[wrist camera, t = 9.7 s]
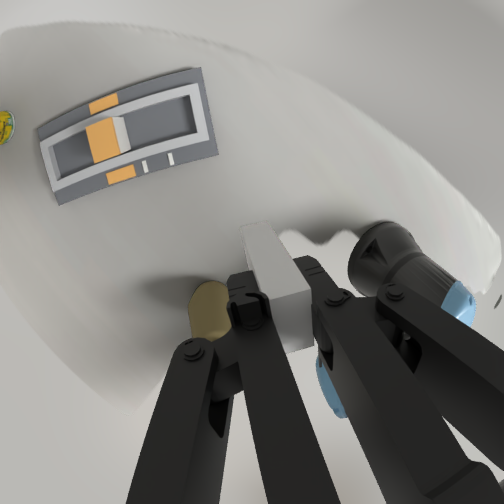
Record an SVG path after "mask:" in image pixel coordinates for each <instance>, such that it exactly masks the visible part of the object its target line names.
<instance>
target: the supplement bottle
mask: <svg viewBox="0 0 504 504" xmlns="http://www.w3.org/2000/svg"><path fill="white" fill-rule="evenodd" d="M14 128H15V120H14V116H13V114H12V113H11V112H9V111H1V112H0V145H1V144H4V143H6V142H8V141H9V140H10V138H11V137H12V135H13V132H14Z"/></svg>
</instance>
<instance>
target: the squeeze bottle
mask: <svg viewBox="0 0 504 504" xmlns="http://www.w3.org/2000/svg"><path fill="white" fill-rule="evenodd" d="M228 301H229V295H228V289H227V287H226V286H225V285H224V284H223V283H220V282H217V281H208V282H205V283H203V284H201V285H200V286H199V287H198V288H197V289H196V291H195V292H194V294H193V296H192V298H191V300H190V302H189V304H188V313H189V320H190V326H191V332H192V337H193V338H197V337H200V338H206V339H207V340H209V341H211V342H212V341H215V340H217V339H219V338H220V337H222V336H224V335H225V334H226V333H227V332H228V331H229V330H230V328H231V326H232V325H231V322H230V319H229V316H228V313H227V310H226V306H227V302H228Z"/></svg>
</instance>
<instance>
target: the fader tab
mask: <svg viewBox="0 0 504 504" xmlns="http://www.w3.org/2000/svg"><path fill="white" fill-rule="evenodd" d="M85 128H86V132H87V136H88V141H89V145H90V149H91V152H92V156H93V160H94V163H98V162H100V161H103V160H105V159H108V158H111V157H113V156H116V155H119V154H121V153H124V152H126V151H128V150H130V149H131V147H130V143H129V139H128V135H127V130H126V126H125V122H124V117H109V118H107V119H104V120H102V121H99V122H97V123H95V124H92V125H90V126H87V127H85Z"/></svg>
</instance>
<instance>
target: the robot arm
mask: <svg viewBox="0 0 504 504" xmlns="http://www.w3.org/2000/svg"><path fill="white" fill-rule="evenodd" d="M240 232H241V236H242V241H243V246H244V250H245V255H246V259H247V264H248V268H249V271H246V272H242V273H238V274H233V275H230V277H229V279H228V281H227V289H228V295H229V301H228V302H227V306H226V310H227V313H228V316H229V319H230V322H231V325H232V326H231V328H230V330H229V331H228V332H227V333H226V334H225V335H224V336H222V337H220V338H219V339H217V340H215V341H212V342H211V341H209V340H207V339H206V338H200V337H197V338H191V339H188V340H186V341H184V342H182V343H181V344H180V345H179V346H178V347H177V348H176V350H175V352H174V354H173V357H172V359H171V362H170V365H169V368H168V371H167V374H166V376H165V379H164V382H163V385H162V388H161V391H160V394H159V397H158V400H157V403H156V406H155V409H154V412H153V415H152V418H151V421H150V424H149V427H148V430H147V433H146V437H145V439H144V443H143V446H142V449H141V452H140V456H139V459H138V463H137V466H136V469H135V473H134V476H133V479H132V483H131V486H130V490H129V493H128V497H127V501H126V504H219V501H220V493H221V486H222V479H223V472H224V465H225V457H226V451H227V443H228V436H229V429H230V422H231V415H232V407H233V399H234V395H235V394H237V393H239V392H241V391H243V390H244V395H245V400H246V406H247V410H248V416H249V420H250V425H251V430H252V435H253V440H254V444H255V449H256V454H257V458H258V462H259V467H260V471H261V476H262V480H263V484H264V489H265V493H266V497H267V501H268V504H341V503H340V500H339V498H338V495H337V492H336V489H335V487H334V484H333V481H332V479H331V476H330V473H329V471H328V468H327V465H326V463H325V460H324V457H323V454H322V452H321V449H320V447H319V444H318V441H317V438H316V436H315V433H314V430H313V428H312V425H311V422H310V419H309V417H308V414H307V411H306V408H305V406H304V403H303V400H302V398H301V395H300V392H299V389H298V387H297V384H296V381H295V378H294V376H293V373H292V370H291V367H290V365H289V362H288V360H287V357H286V354H287V353H291V352H295V351H298V350H301V349H305V348H308V347H311V346H314V337H315V339H316V341H317V343H318V357H317V359H316V372H317V376H318V380H319V383H320V386H321V389H322V391H323V394H324V396H325V398H326V400H327V402H328V404H329V406H330V407H331V408H332V409H333V411H334V413H335V415H336V416H338V417H339V418H347V417H348V418H349V420H350V423H351V425H352V427H353V429H354V431H355V434H356V436H357V438H358V440H359V442H360V445H361V447H362V449H363V451H364V453H365V456H366V458H367V460H368V462H369V465H370V467H371V469H372V471H373V474H374V476H375V478H376V480H377V483H378V485H379V487H380V489H381V492H382V494H383V496H384V499H385V501H386V503H387V504H504V480H502V481H501V482H499V483H498V482H497V480H496V478H495V476H494V474H493V473H492V471H491V470H490V468H489V467H488V466H487V465H485V464H483V463H481V462H475V461H471V460H470V459H468V457H467V456H466V455H465V453H464V451H463V450H462V448H461V446H460V445H459V443H458V441H457V440H456V438H455V436H454V435H453V433H452V432H451V430H450V429H449V427H448V425H447V424H446V422H445V421H444V419H443V417H444V418H445V419H446V420H447V421H448V422H449V423H450V424H451V425H452V426H453V427H455V428H456V429H457V430H458V431H459V432H460V433H461V434H462V435H463V436H464V437H465V438H467V439H468V440H469V441H470V442H471V443H472V444H473V445H474V446H475V447H476V448H477V449H479V450H480V451H481V452H482V453H483V454H484V455H485V456H486V457H487V458H488V459H489V460H490V461H492V462H493V463H494V464H495V465H496V466H498V467H499V468H500V469H501V470H503V471H504V351H503V350H502V349H500V348H499V347H497V346H496V345H495V344H493V343H492V342H490V341H489V340H487V339H486V338H485V337H483V336H482V335H480V334H479V333H478V332H476V331H475V330H473V329H471V328H470V327H471V324H472V322H473V319H474V316H475V311H476V303H475V299H474V297H473V295H472V294H471V293H470V292H469V291H468V290H467V289H466V288H465V287H464V286H463V284H462V283H461V282H460V281H458V280H457V279H455V278H454V277H453V276H452V275H450V274H449V273H448V272H447V271H445V270H444V269H443V268H442V267H440V266H439V265H438V264H436V263H435V262H434V261H433V260H431V259H430V258H429V257H427V256H426V255H425V254H423V252H422V251H421V249H420V247H419V246H418V245H417V243H416V242H415V240H414V238H413V236H412V235H411V233H410V232H409V231H408V230H406V229H405V228H403V227H402V226H400V225H399V224H396V223H392V222H387V223H382V224H379V225H377V226H375V227H373V228H372V229H370V230H369V231H368V232H366V233H365V234H364V235H363V236H362V237H361V238H360V240H359V241H358V242H357V244H356V246H355V247H354V249H353V251H352V253H351V255H350V258H349V262H348V277H349V280H350V282H351V284H352V285H353V286H354V287H355V289H356V290H357V291H358V292H359V293H360V294H362V295H363V296H366V297H355V296H354V295H353V294H352V293H351V292H350V291H348V290H346V289H343V288H338V286H337V285H336V284H335V282H334V281H333V280H332V279H331V277H330V276H329V275H328V273H327V272H325V270H324V268H323V267H321V265H320V263H319V262H318V261H317V260H316V259H315V258H313V257H310V256H308V255H307V256H303V257H299V258H295V259H292V258H291V256H290V255H289V253H288V252H287V250H286V249H285V247H284V246H283V244H282V243H281V241H280V239H279V238H278V236H277V235H276V233H275V232H274V230H273V229H272V227H271V226H270V224H269V222H268V221H263V222H259V223H254V224H250V225H246V226H241V227H240ZM442 416H443V417H442Z"/></svg>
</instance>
